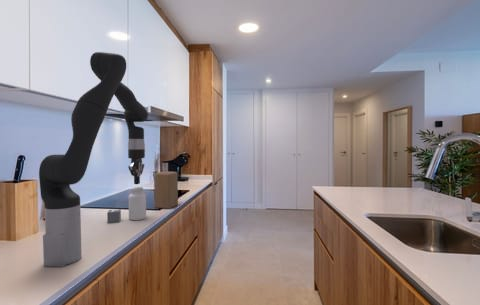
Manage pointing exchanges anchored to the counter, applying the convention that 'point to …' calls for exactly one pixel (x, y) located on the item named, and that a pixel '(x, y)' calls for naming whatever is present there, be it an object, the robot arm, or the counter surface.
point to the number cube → (114, 216)
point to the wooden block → (166, 189)
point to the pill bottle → (137, 204)
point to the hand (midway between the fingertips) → (137, 183)
